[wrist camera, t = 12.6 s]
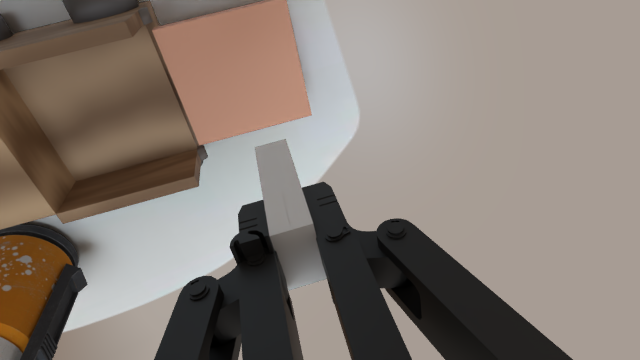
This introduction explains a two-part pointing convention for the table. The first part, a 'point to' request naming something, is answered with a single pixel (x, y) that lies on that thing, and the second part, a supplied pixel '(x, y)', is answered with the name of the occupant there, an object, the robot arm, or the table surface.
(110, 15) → the truck
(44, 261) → the canister
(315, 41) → the table surface
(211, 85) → the panel
